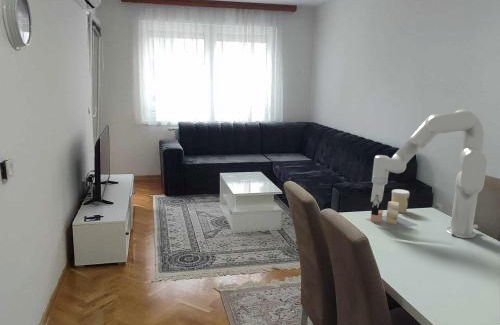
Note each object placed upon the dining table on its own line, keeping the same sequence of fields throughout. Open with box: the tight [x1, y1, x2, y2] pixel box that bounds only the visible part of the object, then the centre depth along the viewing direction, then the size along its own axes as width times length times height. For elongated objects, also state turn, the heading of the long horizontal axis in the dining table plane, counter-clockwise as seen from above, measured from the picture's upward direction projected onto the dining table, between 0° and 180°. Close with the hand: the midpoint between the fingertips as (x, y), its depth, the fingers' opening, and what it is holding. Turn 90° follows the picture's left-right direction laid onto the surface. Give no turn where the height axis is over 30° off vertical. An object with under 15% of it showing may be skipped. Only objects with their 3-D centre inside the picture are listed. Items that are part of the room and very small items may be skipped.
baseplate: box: [365, 215, 418, 231], centre depth 203 cm, size 19×17×1 cm
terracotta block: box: [370, 209, 384, 223], centre depth 204 cm, size 5×5×5 cm
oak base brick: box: [386, 212, 399, 224], centre depth 202 cm, size 5×5×5 cm
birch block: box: [386, 201, 399, 215], centre depth 201 cm, size 5×5×5 cm
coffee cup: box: [391, 188, 411, 214], centre depth 221 cm, size 9×9×12 cm
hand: (375, 212), depth 204 cm, fingers open, 9 cm apart
